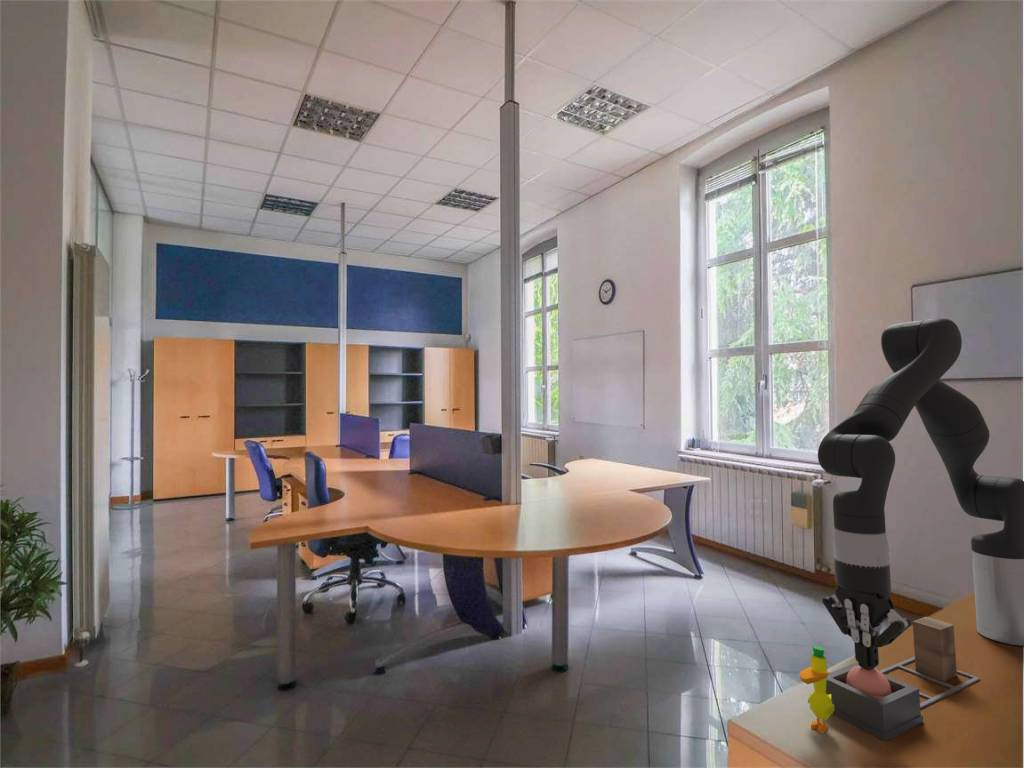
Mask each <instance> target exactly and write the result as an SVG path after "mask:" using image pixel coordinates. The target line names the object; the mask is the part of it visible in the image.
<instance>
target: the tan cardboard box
mask: <svg viewBox="0 0 1024 768" xmlns="http://www.w3.org/2000/svg"><path fill="white" fill-rule="evenodd" d="M954 627H955V625H954V624H952V623H949V622H946V621H943V620H939V619H935V618H932V617H929V616H924V617H921V618H917V619H915V620H913V621H912V632H913V647H914V657H915V661H914V662H915V663H914V665H915V671H916V672H919V673H921V674H924V675H926V676H929V677H931V678H934V679H936V680H939V681H942V682H944V683H945V682H947V681H948V680H950V679H953V678H955V677H957V676H958V673H957V670H958V669H957V659H956V658H957V656H956V644H955V643H956V642H955V628H954Z"/></svg>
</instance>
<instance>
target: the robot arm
mask: <svg viewBox="0 0 1024 768" xmlns="http://www.w3.org/2000/svg"><path fill="white" fill-rule="evenodd" d="M880 339H881V340H880V343H881V350H882V353H883V356H884V359H885V361H886V362H887V364H888V366H889V368H890V369H891V371H892V373H893V374H891V375H889V376H888V377H886V378H884V379H882V380H881V381H879V382H878V383H876V384H875V385H874V386H873V387H872V388H871V389H869V390H868V391H867V393H866V394H865V395H864V396H863V398H862V400H861V401H860V402H859V403H858V405H857V407H856V408H855V409H854V411H853V413H852V414H851V415H850V416H848V417H846V418H845V419H844V420H842V421H841V422H840V423H838V424H837V425H836V426H834V427H833V428H832V429H831V430H830V431H828V432H827V433H826V435H825V436H823V438H822V440H821V442H820V443H819V445H818V449H817V461H818V463H819V465H820V467H821V469H822V470H824V471H825V472H826V473H828V474H829V475H833V476H835V477H836V476H837V477H846V478H857V479H861V482H860V485H859V487H858V489H857V490H846V491H839V492H837V493H835V495H834V496H833V498H832V511H833V539H832V545H833V564H834V567H833V568H834V579H835V580H834V581H835V583H836V588H835V590H834V594H832V595H830V596H827V597H824V598H822V603H823V605H824V606H825V609H826V610H827V611H828V613H829V614H830V617H832V619H833V621H834V622H835V624H836V625H837V627H838V629H839V630H840V632H841V633H842V634H843V635H846V636H849V637H850V638H851V639H852V641H853V642H854V655H855V656H854V658H855V661H856V663H858V664H859V666H860V667H863V668H865V669H867V670H871V669H874V668H876V667H878V666H879V664H880V658H879V648H882V647H885V646H888V645H891V644H893V642H894V641H895V640H896V639H897V638H899V636H901V635H902V634H903V633H904V632H905V631H906V630H908V629H909V628H910V627H911V626H912V622H911V620H910V619H909V618H907V617H902V616H901V615H900V614H899V612H897V611H896V610H895V604H894V602H893V600H892V598H891V590H892V581H891V564H890V563H891V562H890V551H889V547H890V546H889V543H888V539H887V538H888V537H887V530H886V513H885V512H886V511H885V506H886V500H887V496H888V490H889V486H890V482H891V479H892V476H893V473H894V469H895V465H896V453H895V450H894V447H893V446H892V444H891V442H890V441H892V440H894V439H895V438H896V437H897V435H898V434H899V433H900V430H901V429H902V427H903V426H904V424H905V423H906V420H907V419H908V417H909V415H910V413H911V412H912V410H913V409H914V407H915V408H916V410H917V413H918V414H919V416H920V418H921V422H922V424H923V426H924V428H925V430H926V432H927V434H928V436H929V439H930V440H931V442H932V443H933V445H934V447H935V449H936V450H937V452H938V455H939V456H940V458H941V460H942V462H943V465H944V466H945V469H946V471H947V474H948V476H949V479H950V483H951V485H952V487H953V491H954V493H955V496H956V499H957V501H958V503H959V507H961V508H960V509H962V511H963V512H964V513H965V514H966V515H968V516H969V517H970V516H971V517H974V518H978V519H983V520H991V521H998V522H1004V523H1003V529H1001V530H999V531H995V532H989V533H982V534H981V533H980V534H977V535H974V536H972V537H971V539H970V543H971V544H970V545H971V546H970V547H971V559H972V574H973V588H974V589H973V590H974V601H975V615H976V617H975V619H976V629H977V633H978V634H980V635H981V636H983V637H985V638H987V639H990V640H993V641H995V642H996V641H997V642H1000V643H1003V644H1008V645H1013V646H1020V647H1021V646H1023V647H1024V480H1023V479H1021V478H1017V477H1009V476H999V475H998V476H997V475H996V476H995V475H983V474H979V473H978V472H976V471H975V469H974V465H975V463H976V461H977V460H978V458H980V456H981V455H982V454H983V452H984V450H985V449H986V448H987V446H988V443H989V441H990V434H991V433H990V430H989V428H988V425H987V422H986V420H985V418H984V416H983V414H982V413H981V410H980V408H979V407H978V406H977V404H976V403H975V402H974V401H973V400H972V399H970V398H969V397H967V396H966V395H964V394H963V393H961V392H960V391H959V390H957V389H955V388H953V387H951V386H950V385H948V384H946V383H945V382H944V381H942V380H941V378H942V377H943V376H944V375H945V374H946V373H947V372H948V371H949V370H950V369H951V368H952V367H953V365H954V364H955V363H956V361H957V360H958V358H959V356H960V354H961V351H962V347H963V345H962V344H963V341H962V339H963V338H962V334H961V331H960V329H959V327H958V325H957V324H956V323H955V322H954V321H953V320H951V319H948V318H938V317H937V318H929V319H921V320H913V321H906V322H899V323H895V324H892V325H889V326H887V327H886V328H885V329H884V330H883V331H882V334H881V338H880ZM887 618H888V619H887ZM886 619H887V620H886ZM885 620H886V621H887V623H886V625H887V626H888V627H886V629H884V630H883V631H882V629H883V627H882V626H883V622H884V621H885ZM881 631H882V632H881ZM880 632H881V633H880Z"/></svg>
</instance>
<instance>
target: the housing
mask: <svg viewBox="0 0 1024 768" xmlns="http://www.w3.org/2000/svg"><path fill="white" fill-rule="evenodd" d="M858 665H859V664H858V662H854V663H851V664H849V665H846V666H843V667H841V668H838V669H835V670H832V671H831V672H830V671H829V674H828V676H827V683H826V694H827V695H829V694H831V700H832V704H833V705H834V712H833V714H832V715H834V714H835V715H834V716H836V717H838V718H840V719H841V718H842V719H841V720H844V721H846V722H848V723H849V724H851V725H853V726H855V727H857V728H859V729H860V730H862V731H865V732H866V733H868V734H870V735H872V736H874V737H876V738H878V739H880V740H882V741H883V742H887V741H888V740H891V739H893V738H895V737H897V736H899V735H901V734H903V733H904V732H907V731H908V730H910V729H913V728H914V727H917V726H918V725H920V724H922V723H924V716H923V714H922V713H921V709H920V703H921V699H920V698H921V696H919V692H920V688H919V687H916V686H913V685H912V684H911V685H910V684H909V683H907V682H904V681H901V680H899V679H896V678H894V677H891V676H890V675H887V674H886V673H884V674H883V675H884V676H885V677H886V678H887V680H888V681H889V683H890V686H891V691H892V694H890V695H887V696H885V697H883V698H881V699H877V698H875V697H873V696H870V695H868V694H866V693H864V692H862V691H860V690H857V689H855V688H853V687H851V686H849V685H847V684H846V678H847V674H848V672H849V671H850V670H851V669H852V668H853V667H855V666H858Z"/></svg>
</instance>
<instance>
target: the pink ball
mask: <svg viewBox="0 0 1024 768" xmlns="http://www.w3.org/2000/svg"><path fill="white" fill-rule="evenodd" d="M846 684H847V685H849V686H851V687H853V688H855V689H857V690H860V691H862V692H864V693H866V694H868V695H870V696H873V697H875V698H877V699H881V698H883V697H885V696H887V695H890V694H892V691H891V686H890V683H889V681H888V680H887V678H886V677H885V676H884V675H883V674H882V673H881V672H880V670H878V668H876V667H875V668H874V669H871V670H867V669H865V668H863V667H860V666H859V665H858V666H855V667H853V668H852V669H851V670H850V671H849V672H848V674H847V678H846Z"/></svg>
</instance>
